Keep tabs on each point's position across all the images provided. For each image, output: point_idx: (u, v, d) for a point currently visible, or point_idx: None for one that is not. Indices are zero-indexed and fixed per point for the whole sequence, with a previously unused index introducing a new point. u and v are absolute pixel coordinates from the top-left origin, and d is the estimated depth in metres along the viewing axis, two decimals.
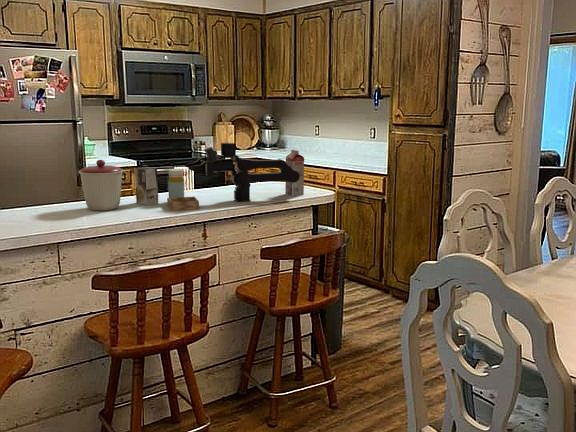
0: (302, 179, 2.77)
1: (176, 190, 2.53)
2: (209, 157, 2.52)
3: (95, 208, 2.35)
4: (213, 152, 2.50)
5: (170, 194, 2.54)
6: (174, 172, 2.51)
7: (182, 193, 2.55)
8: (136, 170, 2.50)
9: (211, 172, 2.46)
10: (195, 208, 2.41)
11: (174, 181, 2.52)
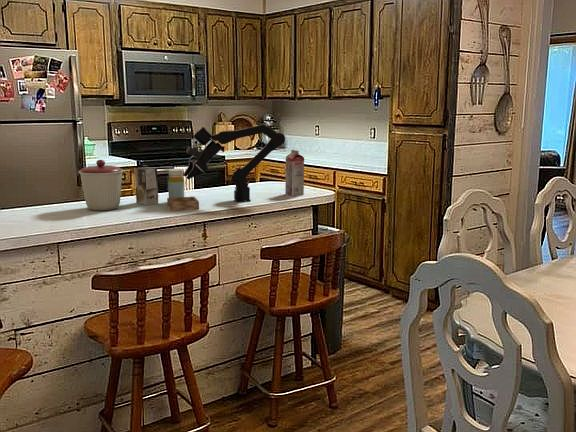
0: (302, 179, 2.77)
1: (176, 190, 2.53)
2: (194, 156, 2.53)
3: (95, 208, 2.35)
4: (193, 150, 2.51)
5: (170, 194, 2.54)
6: (174, 172, 2.51)
7: (182, 193, 2.55)
8: (136, 170, 2.50)
9: (205, 167, 2.49)
10: (195, 208, 2.41)
11: (174, 181, 2.52)
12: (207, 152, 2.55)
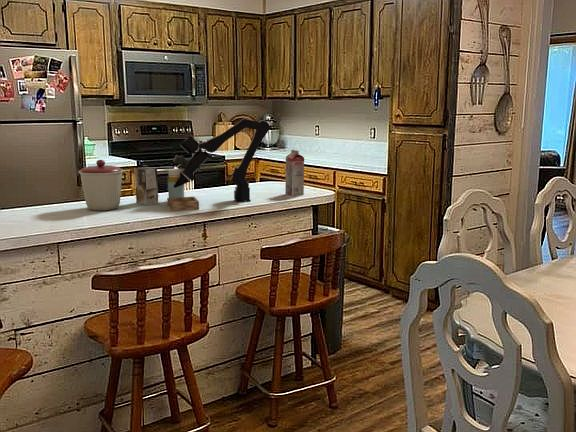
0: (302, 179, 2.77)
1: (175, 190, 2.53)
2: (181, 164, 2.52)
3: (95, 208, 2.35)
4: (180, 159, 2.50)
5: (170, 194, 2.54)
6: (174, 172, 2.51)
7: (182, 193, 2.55)
8: (136, 170, 2.50)
9: (192, 176, 2.48)
10: (195, 208, 2.41)
11: (174, 181, 2.52)
12: (194, 161, 2.53)
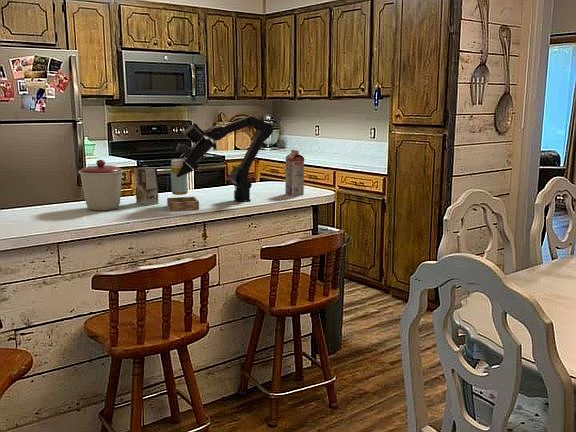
0: (302, 179, 2.77)
1: (178, 181, 2.45)
2: (184, 153, 2.44)
3: (95, 208, 2.35)
4: (183, 147, 2.42)
5: (173, 185, 2.47)
6: (176, 163, 2.44)
7: (185, 184, 2.47)
8: (136, 170, 2.50)
9: (195, 165, 2.40)
10: (195, 208, 2.41)
11: (177, 172, 2.44)
12: (198, 149, 2.46)
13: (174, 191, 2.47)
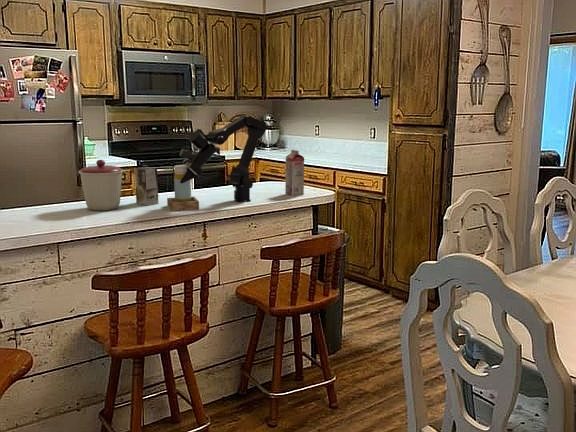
0: (302, 179, 2.77)
1: (182, 187, 2.40)
2: (188, 159, 2.40)
3: (95, 208, 2.35)
4: (187, 153, 2.37)
5: (176, 192, 2.42)
6: (180, 169, 2.39)
7: (189, 190, 2.43)
8: (136, 170, 2.50)
9: (200, 171, 2.35)
10: (195, 208, 2.41)
11: (180, 178, 2.39)
12: (202, 155, 2.41)
13: (178, 197, 2.42)
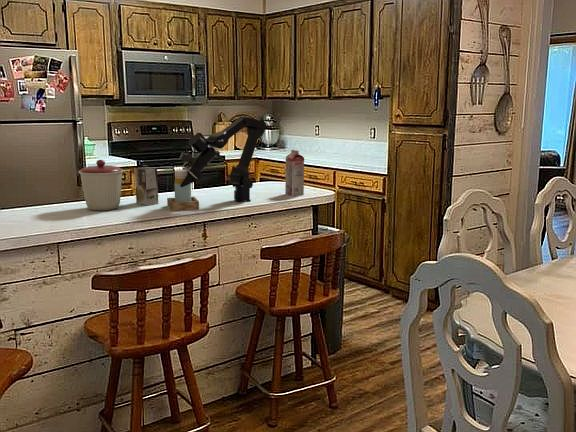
0: (302, 179, 2.77)
1: (182, 192, 2.41)
2: (188, 162, 2.40)
3: (95, 208, 2.35)
4: (187, 156, 2.37)
5: (176, 196, 2.42)
6: (181, 173, 2.40)
7: (189, 195, 2.43)
8: (136, 170, 2.50)
9: (200, 175, 2.36)
10: (195, 208, 2.41)
11: (181, 182, 2.40)
12: (202, 158, 2.41)
13: None
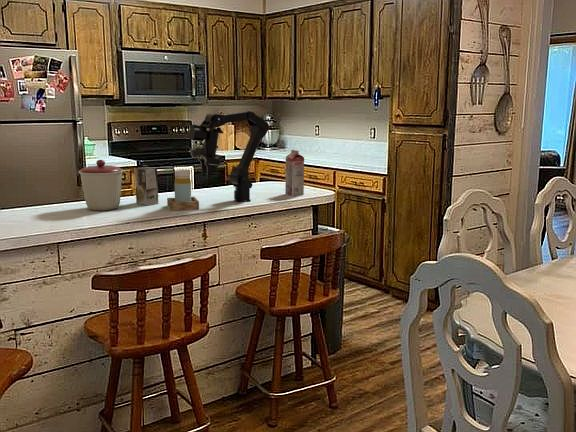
0: (302, 179, 2.77)
1: (182, 192, 2.41)
2: (201, 155, 2.45)
3: (95, 208, 2.35)
4: (197, 151, 2.42)
5: (176, 196, 2.42)
6: (181, 173, 2.40)
7: (189, 195, 2.43)
8: (136, 170, 2.50)
9: (217, 160, 2.41)
10: (195, 208, 2.41)
11: (181, 182, 2.40)
12: (209, 144, 2.45)
13: None
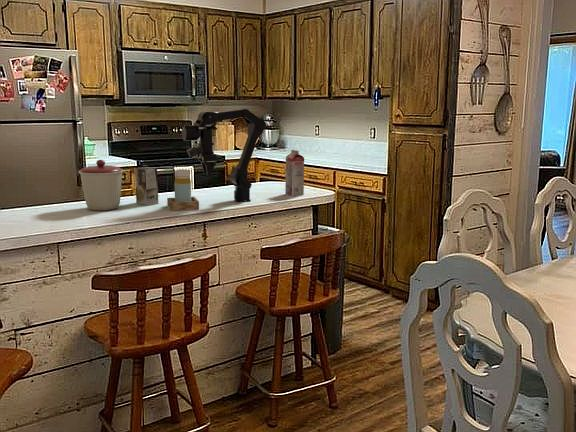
0: (302, 179, 2.77)
1: (182, 192, 2.41)
2: (198, 154, 2.47)
3: (95, 208, 2.35)
4: (193, 151, 2.44)
5: (176, 196, 2.42)
6: (181, 173, 2.40)
7: (189, 195, 2.43)
8: (136, 170, 2.50)
9: (214, 156, 2.42)
10: (195, 208, 2.41)
11: (181, 182, 2.40)
12: (204, 142, 2.46)
13: None
